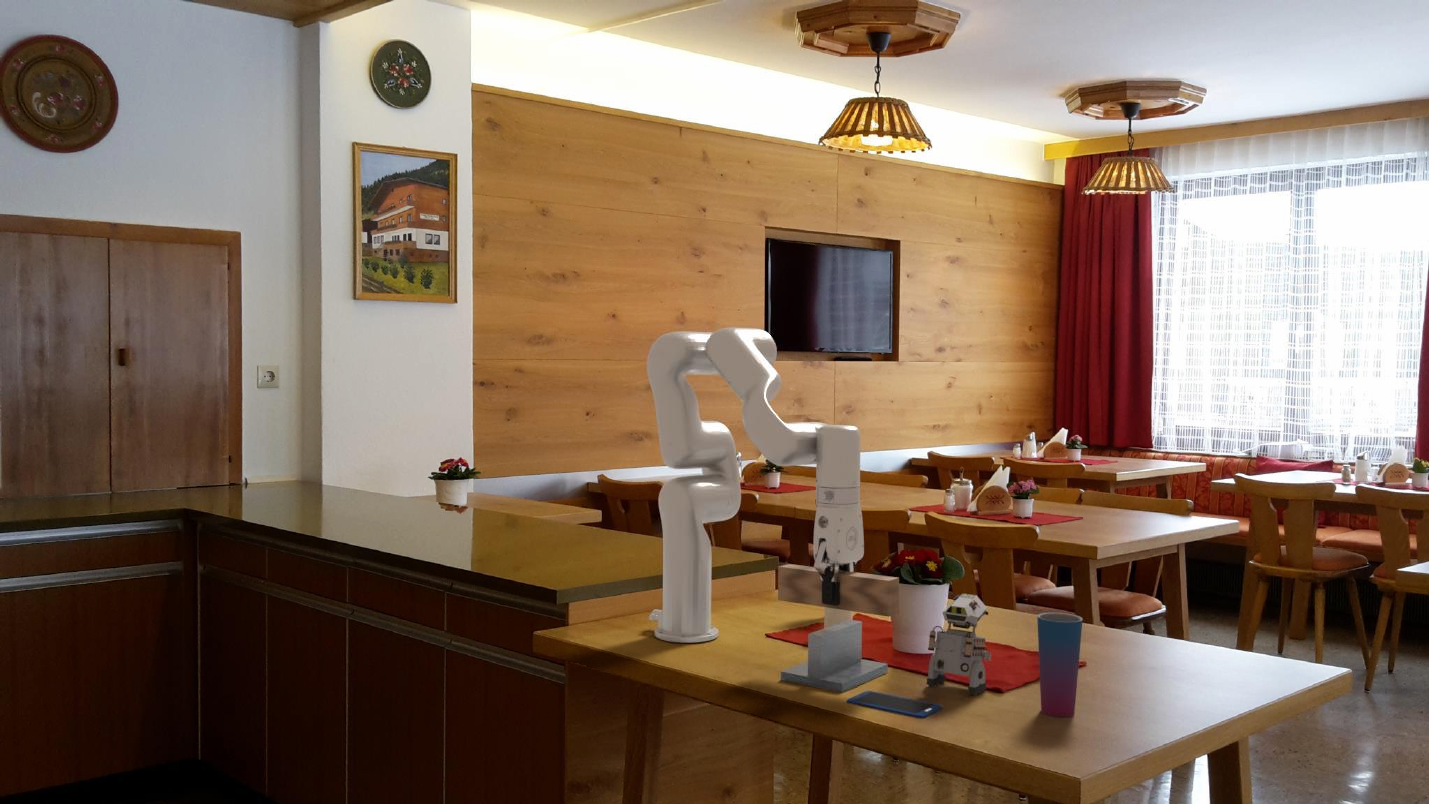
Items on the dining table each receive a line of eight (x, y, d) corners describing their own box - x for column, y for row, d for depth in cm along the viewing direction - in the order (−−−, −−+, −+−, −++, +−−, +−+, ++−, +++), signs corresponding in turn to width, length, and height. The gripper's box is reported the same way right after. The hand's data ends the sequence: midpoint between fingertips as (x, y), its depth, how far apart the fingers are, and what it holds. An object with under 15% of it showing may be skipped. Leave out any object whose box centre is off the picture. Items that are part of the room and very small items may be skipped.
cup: (1028, 705, 186) (1030, 612, 186) (1070, 705, 187) (1072, 612, 186) (1044, 719, 180) (1046, 622, 179) (1087, 718, 180) (1089, 621, 180)
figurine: (1002, 684, 199) (1003, 597, 198) (969, 699, 190) (971, 607, 189) (954, 674, 204) (955, 589, 204) (920, 688, 196) (922, 599, 195)
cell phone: (923, 721, 179) (923, 716, 179) (844, 704, 187) (844, 699, 187) (944, 710, 185) (944, 705, 185) (866, 694, 193) (866, 689, 193)
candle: (850, 641, 228) (851, 590, 227) (822, 640, 229) (823, 589, 228) (853, 635, 233) (854, 585, 233) (825, 633, 234) (826, 584, 234)
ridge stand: (780, 680, 200) (781, 630, 199) (828, 661, 213) (829, 615, 212) (841, 692, 193) (842, 641, 192) (887, 672, 205) (888, 624, 205)
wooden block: (898, 613, 197) (899, 577, 197) (888, 616, 194) (889, 580, 194) (788, 597, 210) (788, 564, 210) (778, 600, 207) (778, 566, 207)
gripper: (832, 502, 192) (831, 613, 193) (880, 494, 206) (879, 597, 206) (793, 499, 197) (792, 607, 198) (843, 491, 210) (842, 592, 211)
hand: (836, 601), depth 202 cm, fingers closed on wooden block, 3 cm apart
